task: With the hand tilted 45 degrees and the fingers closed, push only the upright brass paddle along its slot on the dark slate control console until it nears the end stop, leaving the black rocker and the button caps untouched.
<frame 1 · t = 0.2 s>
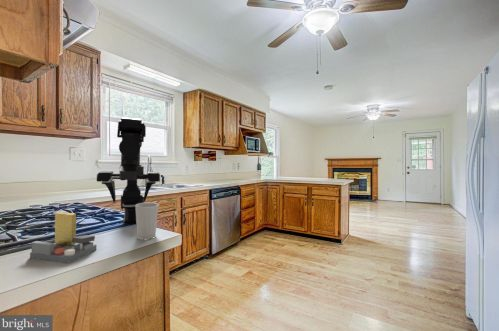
hand: (129, 201, 83), 14 cm above the worktop, tool pointing down, fingers open, 9 cm apart
brass paddle: (65, 228, 76), point 6 cm above the worktop, slide at 0.0 cm
cup: (146, 237, 90), on the worktop
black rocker: (83, 239, 75), point 4 cm above the worktop, hinge at -10.0°, touching console
console: (54, 253, 73), on the worktop
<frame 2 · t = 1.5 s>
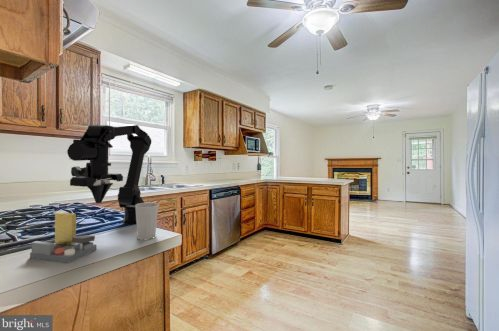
hand: (98, 202, 89), 12 cm above the worktop, tool pointing down, fingers closed
nothing on the worktop moved.
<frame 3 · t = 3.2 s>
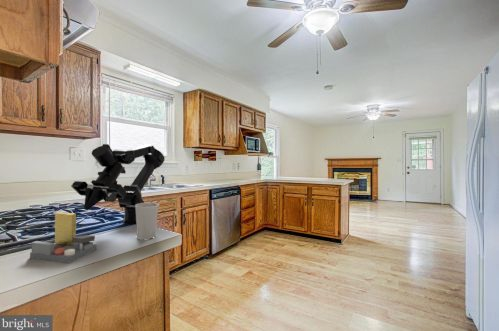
hand: (85, 209, 84), 11 cm above the worktop, tool tilted 45°, fingers closed
nothing on the worktop moved.
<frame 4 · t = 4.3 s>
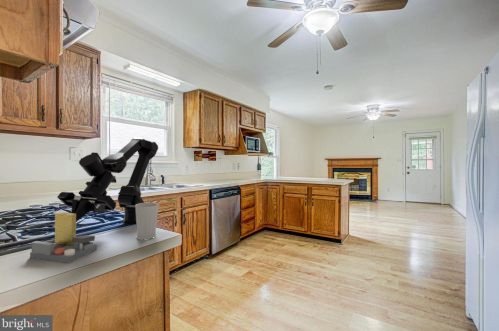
hand: (71, 222, 78), 8 cm above the worktop, tool tilted 45°, fingers closed
nothing on the worktop moved.
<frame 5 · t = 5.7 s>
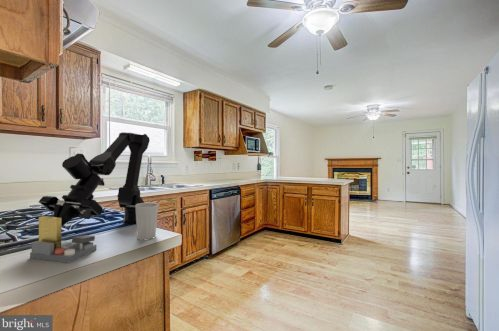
hand: (53, 230, 72), 7 cm above the worktop, tool tilted 45°, fingers closed, pressing on brass paddle
brass paddle: (50, 233, 71), point 6 cm above the worktop, slide at 5.0 cm, touching gripper
everything else where it was.
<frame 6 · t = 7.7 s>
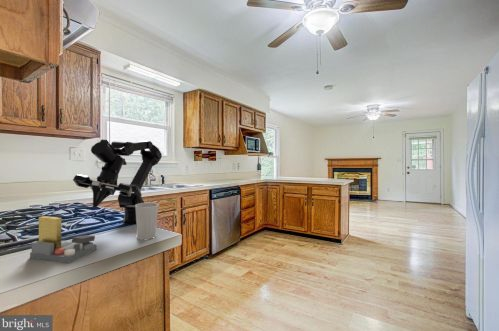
hand: (94, 207, 86), 11 cm above the worktop, tool tilted 35°, fingers closed
brass paddle: (50, 233, 71), point 6 cm above the worktop, slide at 5.0 cm
everything else where it was.
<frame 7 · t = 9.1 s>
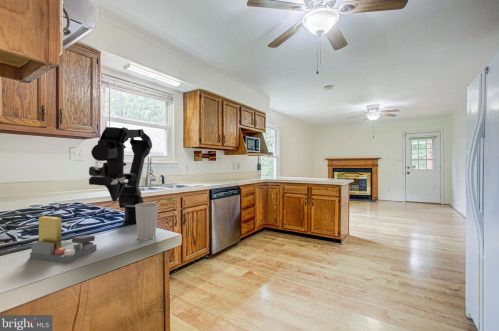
hand: (114, 201, 93), 12 cm above the worktop, tool pointing down, fingers closed
nothing on the worktop moved.
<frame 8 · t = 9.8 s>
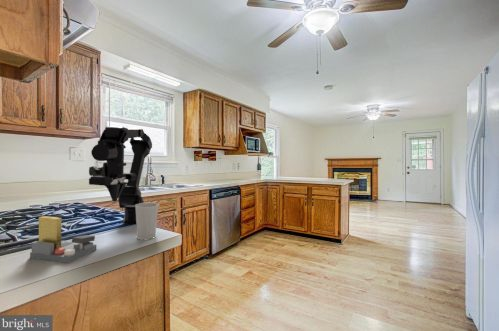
hand: (114, 201, 93), 12 cm above the worktop, tool pointing down, fingers closed
nothing on the worktop moved.
at the end: brass paddle slide at 5.0 cm; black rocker at -10° (first picture: -10°) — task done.
